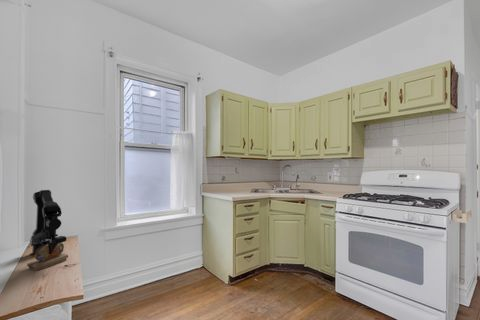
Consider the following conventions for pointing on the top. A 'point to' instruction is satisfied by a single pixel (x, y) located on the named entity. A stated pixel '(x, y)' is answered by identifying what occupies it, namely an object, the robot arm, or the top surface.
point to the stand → (46, 262)
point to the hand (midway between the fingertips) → (48, 253)
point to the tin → (43, 252)
